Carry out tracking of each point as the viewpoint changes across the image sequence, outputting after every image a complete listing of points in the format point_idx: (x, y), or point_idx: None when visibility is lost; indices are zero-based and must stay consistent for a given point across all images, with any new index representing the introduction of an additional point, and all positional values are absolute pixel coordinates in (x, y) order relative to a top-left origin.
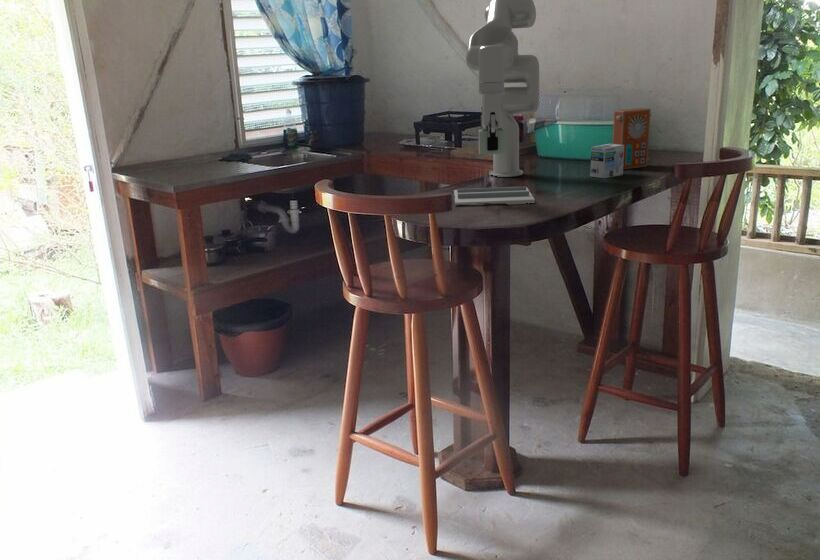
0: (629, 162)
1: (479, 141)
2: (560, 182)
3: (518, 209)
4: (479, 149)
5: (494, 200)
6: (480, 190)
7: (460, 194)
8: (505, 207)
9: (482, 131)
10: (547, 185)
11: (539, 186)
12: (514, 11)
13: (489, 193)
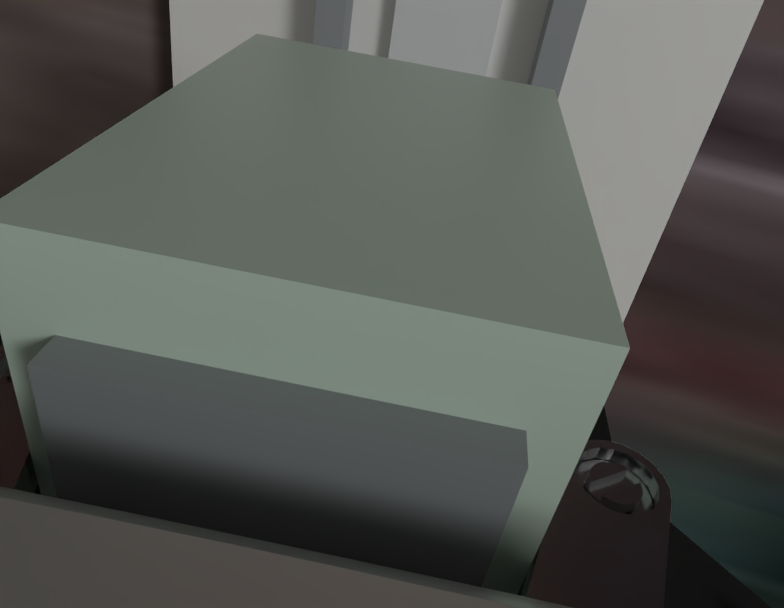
0: None
1: (155, 104)
2: (740, 579)
3: (34, 154)
4: (231, 55)
5: (192, 45)
6: (551, 6)
7: None
8: (97, 90)
9: (5, 316)
10: (698, 509)
11: (696, 469)
12: None
13: (314, 42)
